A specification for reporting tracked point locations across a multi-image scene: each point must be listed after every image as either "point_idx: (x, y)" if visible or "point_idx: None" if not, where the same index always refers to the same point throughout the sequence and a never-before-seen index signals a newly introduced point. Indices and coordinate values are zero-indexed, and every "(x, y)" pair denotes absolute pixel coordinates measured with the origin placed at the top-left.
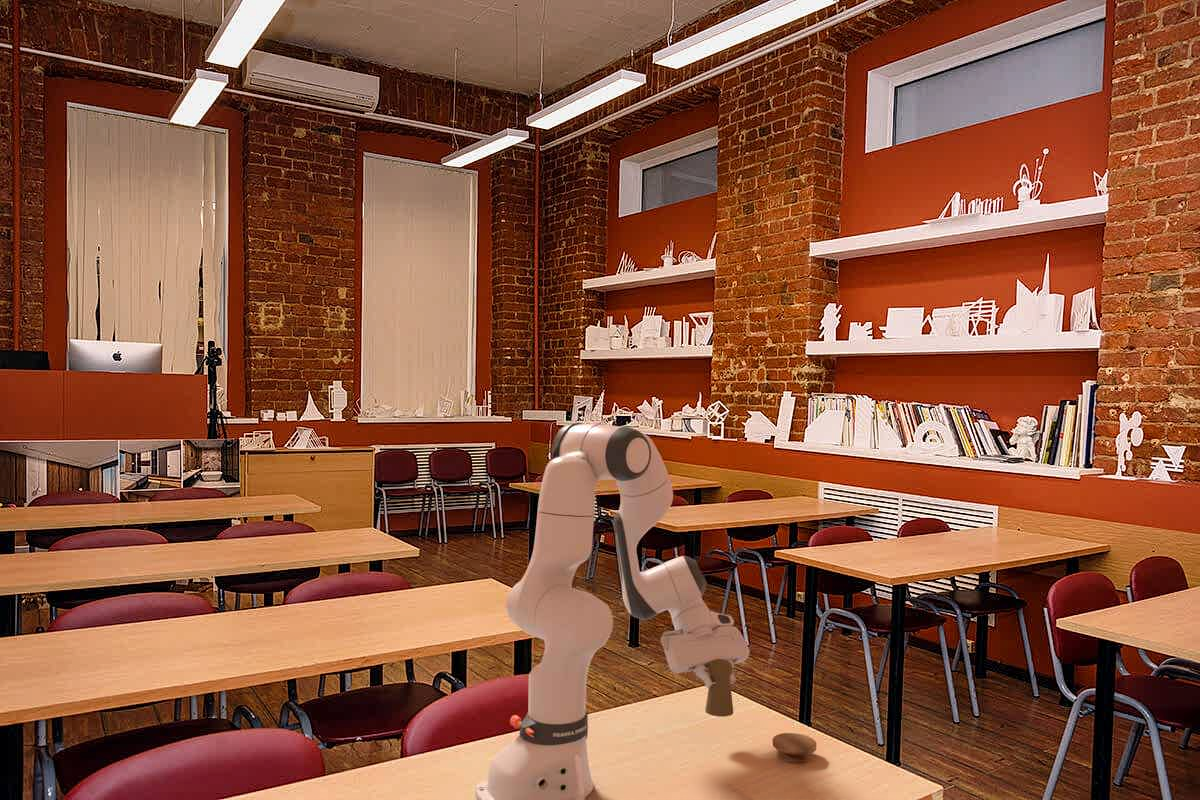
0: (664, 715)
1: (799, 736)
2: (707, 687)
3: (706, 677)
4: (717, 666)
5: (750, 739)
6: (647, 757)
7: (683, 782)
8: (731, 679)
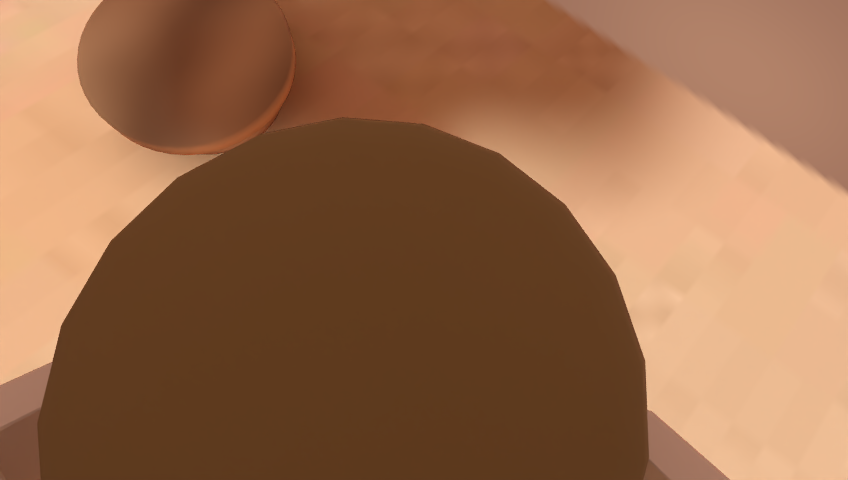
0: None
1: (111, 70)
2: None
3: None
4: (595, 259)
5: None
6: (755, 465)
7: (744, 193)
8: None
